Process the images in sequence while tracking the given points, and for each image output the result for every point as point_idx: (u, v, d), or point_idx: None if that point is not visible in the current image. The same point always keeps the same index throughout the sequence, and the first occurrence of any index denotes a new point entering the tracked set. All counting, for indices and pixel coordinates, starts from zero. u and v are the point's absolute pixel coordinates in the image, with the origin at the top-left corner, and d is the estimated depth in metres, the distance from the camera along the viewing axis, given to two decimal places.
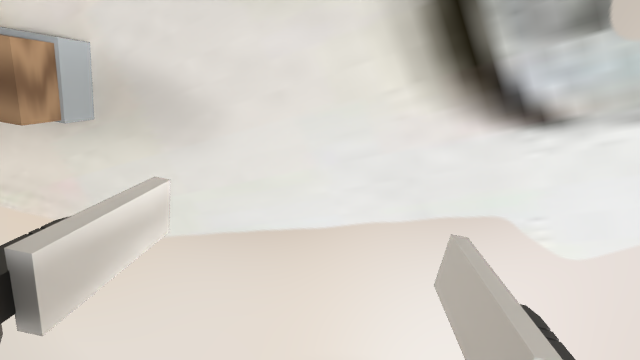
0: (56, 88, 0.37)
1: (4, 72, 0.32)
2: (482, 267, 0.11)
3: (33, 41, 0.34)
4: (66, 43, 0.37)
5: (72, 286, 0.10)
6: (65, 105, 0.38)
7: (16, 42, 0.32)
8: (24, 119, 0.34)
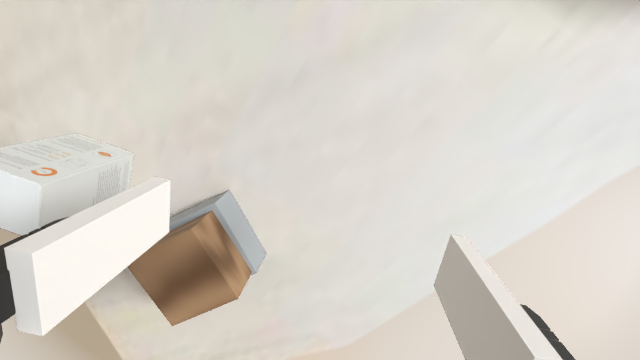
0: (234, 247, 0.37)
1: (201, 262, 0.32)
2: (482, 267, 0.11)
3: (203, 220, 0.34)
4: (221, 203, 0.37)
5: (72, 286, 0.10)
6: (248, 257, 0.38)
7: (196, 230, 0.32)
8: (236, 291, 0.33)
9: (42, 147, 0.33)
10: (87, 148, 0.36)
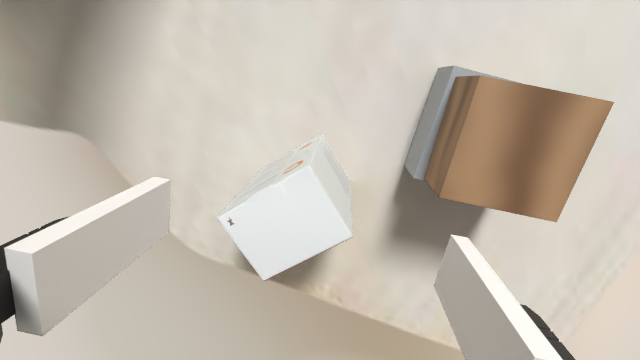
0: None
1: (527, 103, 0.21)
2: (482, 267, 0.11)
3: (468, 76, 0.23)
4: None
5: (72, 286, 0.10)
6: None
7: None
8: None
9: (260, 177, 0.28)
10: (287, 156, 0.30)
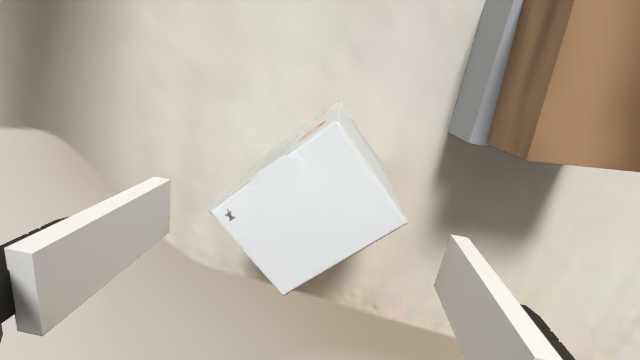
0: None
1: None
2: (482, 267, 0.11)
3: None
4: None
5: (72, 286, 0.10)
6: None
7: None
8: None
9: (266, 158, 0.21)
10: (299, 130, 0.24)
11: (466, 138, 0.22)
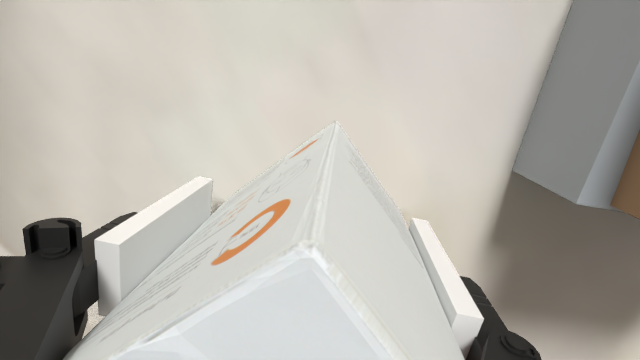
0: None
1: None
2: (433, 244, 0.12)
3: None
4: None
5: (142, 275, 0.11)
6: None
7: None
8: None
9: (195, 237, 0.11)
10: (266, 175, 0.14)
11: (566, 193, 0.12)
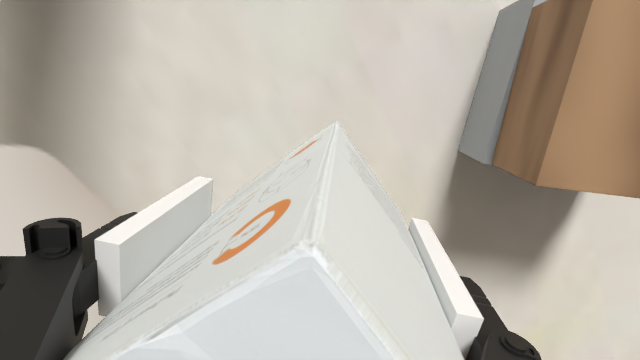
0: None
1: None
2: (433, 244, 0.12)
3: None
4: None
5: (143, 275, 0.11)
6: None
7: None
8: None
9: (196, 236, 0.11)
10: (266, 175, 0.14)
11: (479, 158, 0.20)
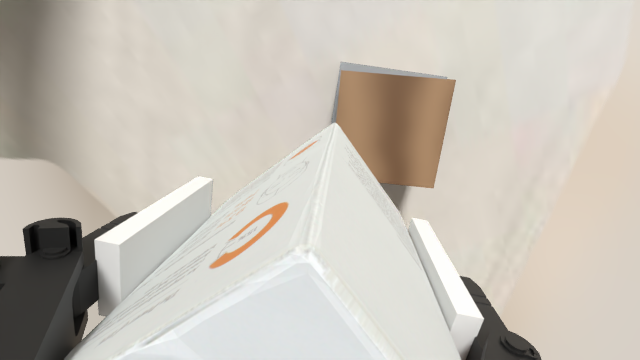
0: None
1: (384, 89, 0.25)
2: (433, 244, 0.12)
3: None
4: None
5: (143, 275, 0.11)
6: None
7: None
8: (446, 79, 0.25)
9: (194, 238, 0.11)
10: (265, 177, 0.14)
11: None
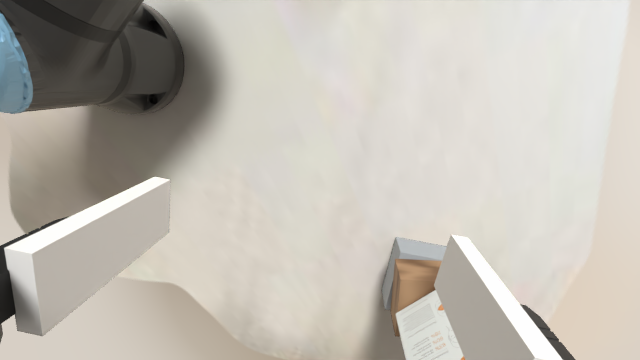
0: (432, 261, 0.44)
1: (428, 288, 0.40)
2: (482, 267, 0.11)
3: (398, 268, 0.42)
4: (403, 248, 0.45)
5: (72, 286, 0.10)
6: None
7: (403, 276, 0.40)
8: None
9: (419, 347, 0.34)
10: (428, 315, 0.37)
11: (384, 305, 0.48)
